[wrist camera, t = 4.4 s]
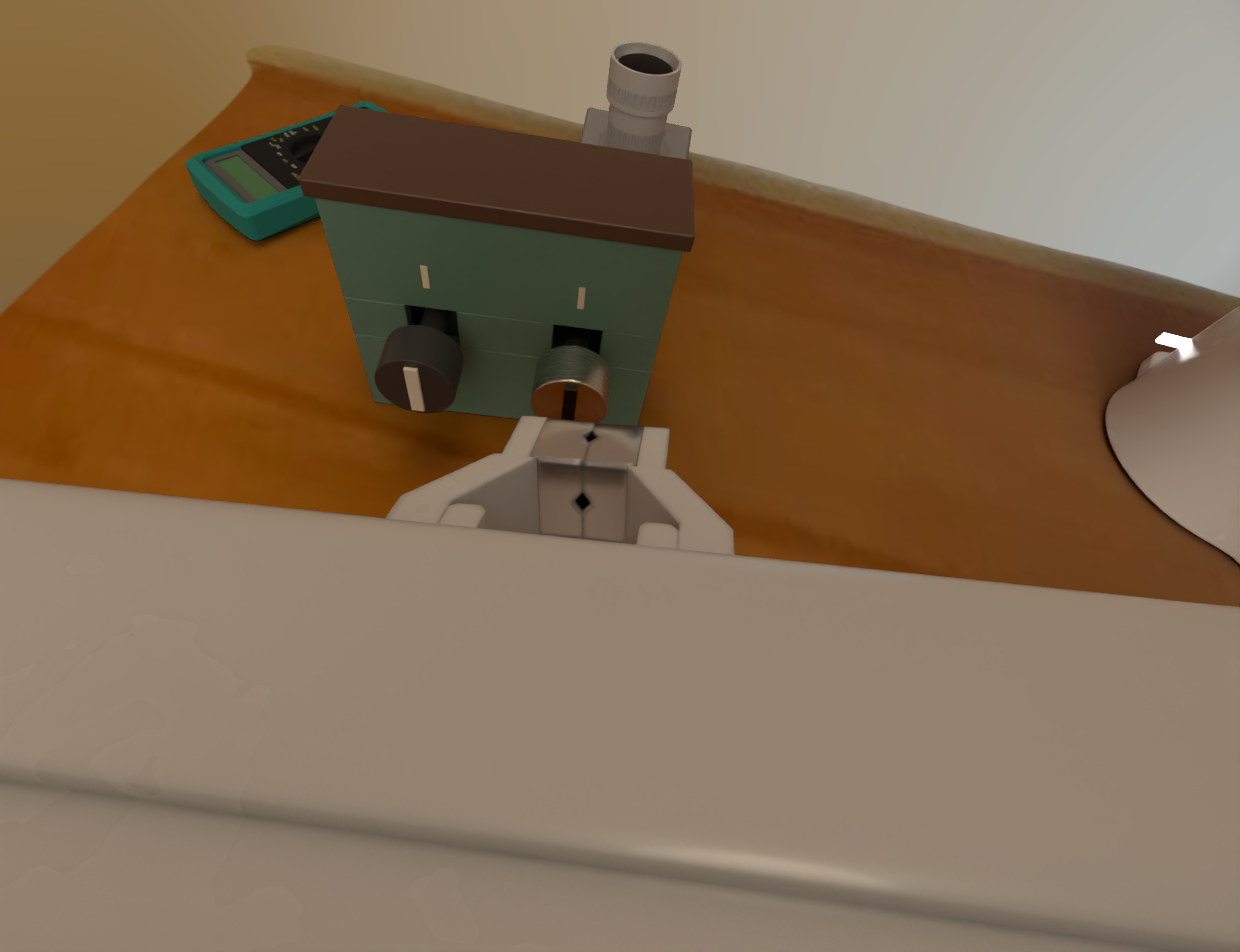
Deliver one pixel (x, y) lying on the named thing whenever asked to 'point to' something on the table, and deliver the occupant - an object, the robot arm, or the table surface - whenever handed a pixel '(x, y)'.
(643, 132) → the camera
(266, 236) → the digital multimeter
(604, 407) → the steel knob
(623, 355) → the console
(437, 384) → the black knob
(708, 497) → the table surface
